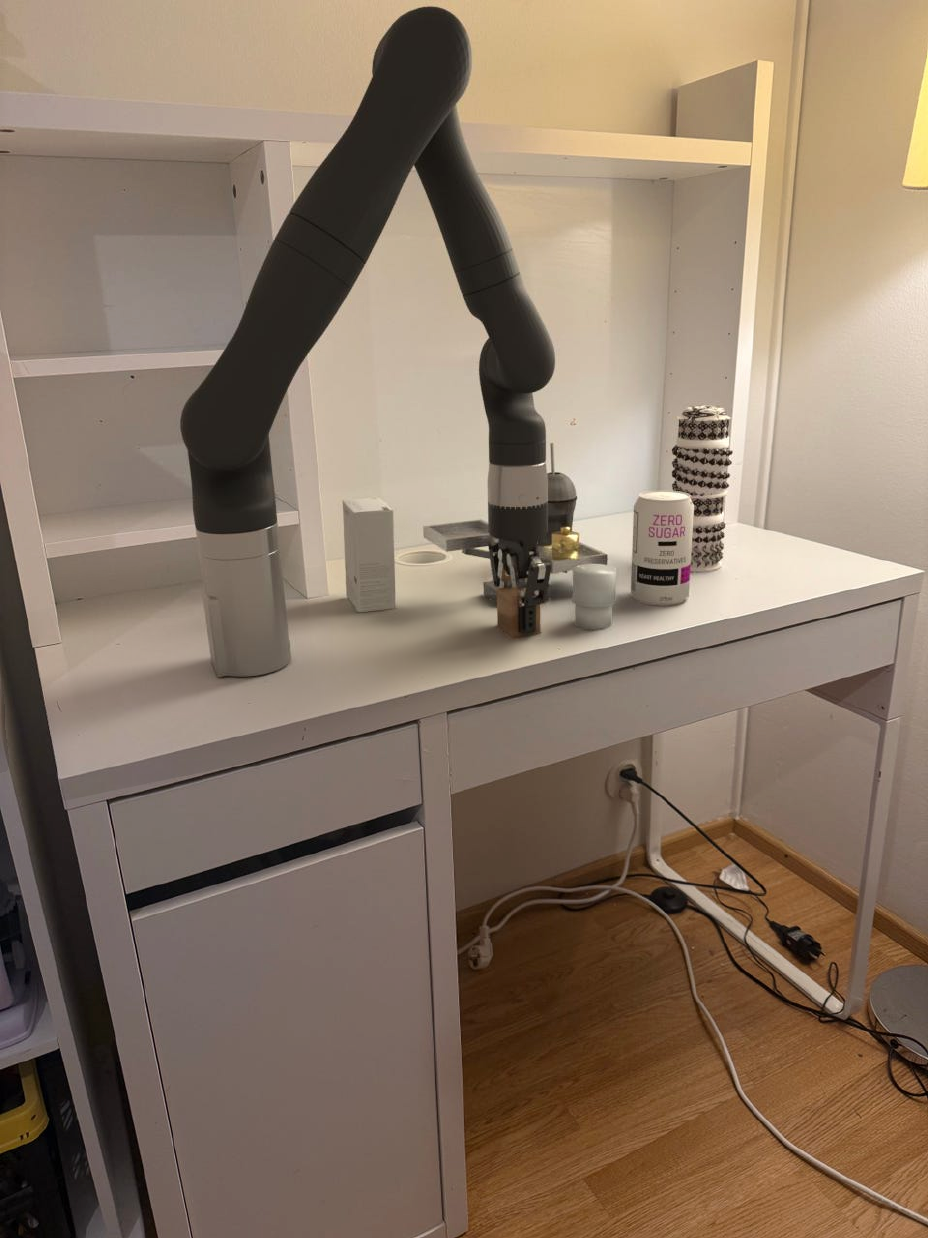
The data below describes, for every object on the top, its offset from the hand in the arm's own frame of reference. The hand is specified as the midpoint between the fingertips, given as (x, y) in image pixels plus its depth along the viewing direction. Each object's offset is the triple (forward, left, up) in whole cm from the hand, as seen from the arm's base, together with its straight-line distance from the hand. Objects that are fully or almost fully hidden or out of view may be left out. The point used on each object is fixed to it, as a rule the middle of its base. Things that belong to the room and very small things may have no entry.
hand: (518, 626), depth 115 cm
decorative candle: (+39, +15, -1) cm, 42 cm away
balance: (+6, +13, -1) cm, 14 cm away
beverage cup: (+18, +24, -1) cm, 30 cm away
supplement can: (+24, +3, -1) cm, 24 cm away
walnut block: (0, 0, -1) cm, 1 cm away
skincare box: (-14, +20, -1) cm, 24 cm away
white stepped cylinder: (+10, -2, -1) cm, 10 cm away
